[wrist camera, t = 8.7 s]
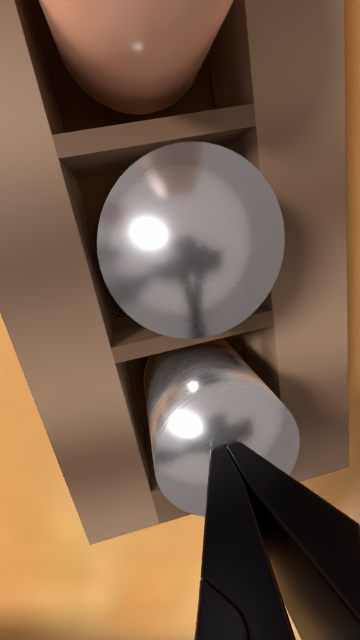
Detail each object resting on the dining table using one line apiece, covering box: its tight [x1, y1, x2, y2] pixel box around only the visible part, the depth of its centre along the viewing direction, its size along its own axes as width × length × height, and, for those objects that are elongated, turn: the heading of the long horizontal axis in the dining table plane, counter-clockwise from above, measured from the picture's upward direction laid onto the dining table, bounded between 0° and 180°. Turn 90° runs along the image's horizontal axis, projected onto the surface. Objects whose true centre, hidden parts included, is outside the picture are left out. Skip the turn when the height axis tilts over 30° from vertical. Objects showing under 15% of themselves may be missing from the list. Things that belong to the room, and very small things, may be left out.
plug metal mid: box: [97, 141, 285, 339], centre depth 9 cm, size 4×4×5 cm
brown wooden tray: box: [0, 0, 349, 545], centre depth 10 cm, size 19×10×3 cm, turn 11°
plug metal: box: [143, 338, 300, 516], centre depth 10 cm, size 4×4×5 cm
